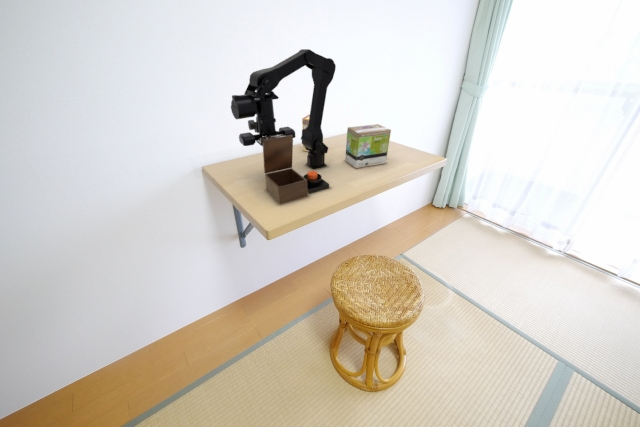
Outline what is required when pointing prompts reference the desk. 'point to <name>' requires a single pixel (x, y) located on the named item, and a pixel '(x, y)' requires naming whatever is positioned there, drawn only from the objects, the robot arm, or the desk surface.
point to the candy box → (305, 124)
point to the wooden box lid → (277, 153)
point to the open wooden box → (286, 185)
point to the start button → (312, 175)
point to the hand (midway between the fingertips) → (270, 159)
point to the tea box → (367, 145)
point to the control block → (316, 184)
